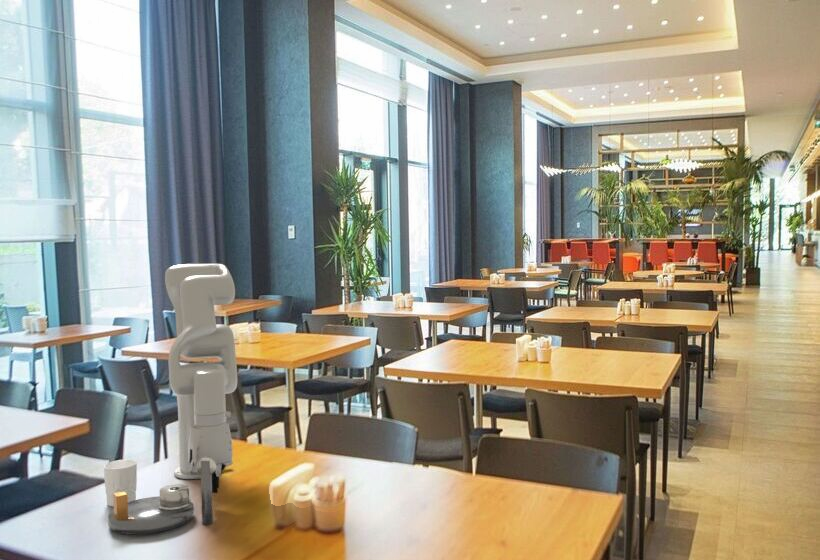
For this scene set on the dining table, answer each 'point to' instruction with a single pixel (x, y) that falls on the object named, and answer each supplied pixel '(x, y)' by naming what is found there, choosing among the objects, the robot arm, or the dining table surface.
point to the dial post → (206, 487)
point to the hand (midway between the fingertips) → (212, 491)
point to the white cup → (120, 479)
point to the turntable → (145, 515)
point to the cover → (174, 497)
